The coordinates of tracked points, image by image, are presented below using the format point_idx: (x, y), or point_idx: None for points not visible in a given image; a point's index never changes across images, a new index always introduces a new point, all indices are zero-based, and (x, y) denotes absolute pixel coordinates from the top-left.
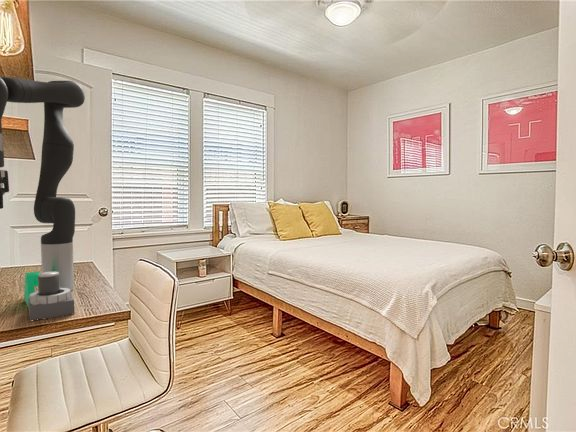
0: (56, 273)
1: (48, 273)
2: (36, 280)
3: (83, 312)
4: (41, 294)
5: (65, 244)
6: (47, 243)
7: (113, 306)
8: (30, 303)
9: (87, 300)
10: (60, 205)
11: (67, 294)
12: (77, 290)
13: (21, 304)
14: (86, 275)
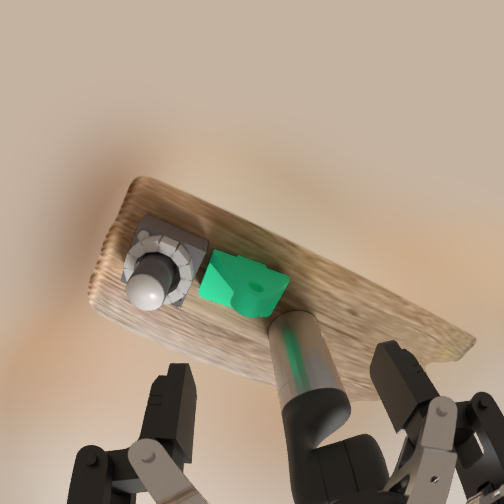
0: (130, 299)
1: (144, 293)
2: (233, 295)
3: None
4: (148, 255)
5: (281, 409)
6: (308, 393)
7: (117, 314)
8: (162, 235)
9: (184, 319)
10: (295, 495)
11: None
12: (264, 345)
13: (271, 260)
14: None
